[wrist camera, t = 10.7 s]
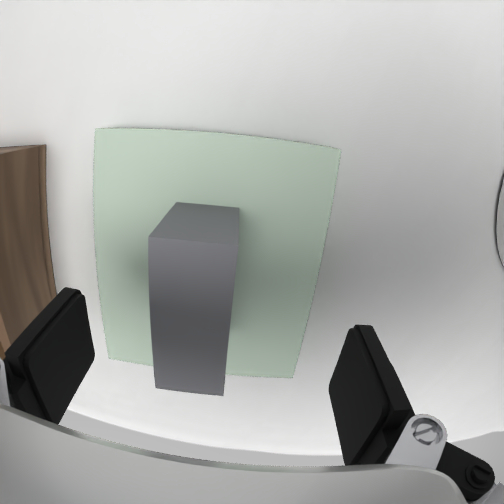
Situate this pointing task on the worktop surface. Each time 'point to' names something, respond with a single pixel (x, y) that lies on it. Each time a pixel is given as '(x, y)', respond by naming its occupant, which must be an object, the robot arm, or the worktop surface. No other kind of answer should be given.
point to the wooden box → (23, 241)
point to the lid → (208, 250)
